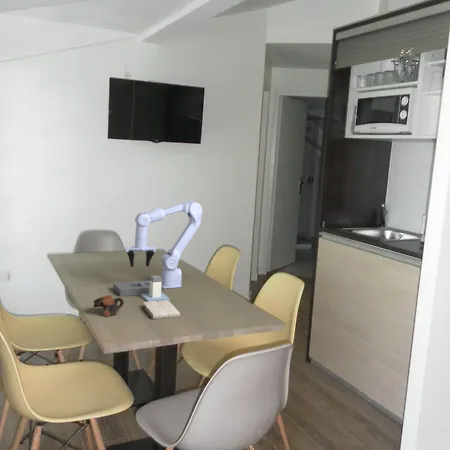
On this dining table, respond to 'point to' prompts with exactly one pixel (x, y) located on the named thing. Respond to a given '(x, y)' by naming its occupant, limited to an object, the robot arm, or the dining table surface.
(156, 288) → the plug
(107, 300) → the broken clay pot
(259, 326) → the dining table surface
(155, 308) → the washcloth
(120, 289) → the gray socket board
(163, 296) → the pad
